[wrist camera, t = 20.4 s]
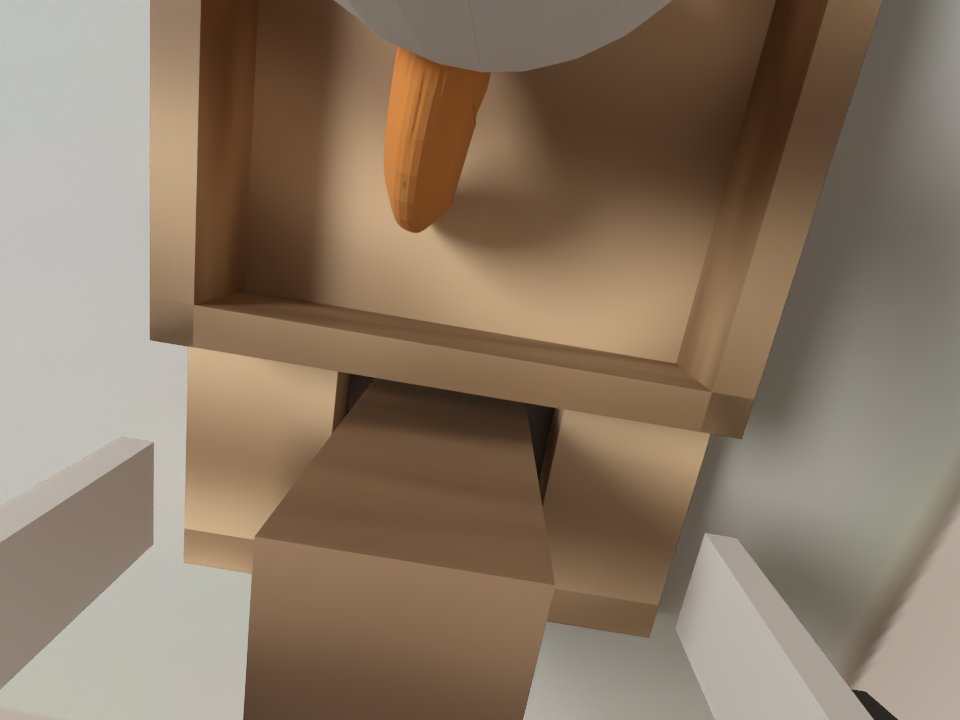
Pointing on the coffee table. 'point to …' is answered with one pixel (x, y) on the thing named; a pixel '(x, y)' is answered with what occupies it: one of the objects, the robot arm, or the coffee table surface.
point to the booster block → (404, 567)
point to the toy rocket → (469, 77)
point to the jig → (490, 256)
